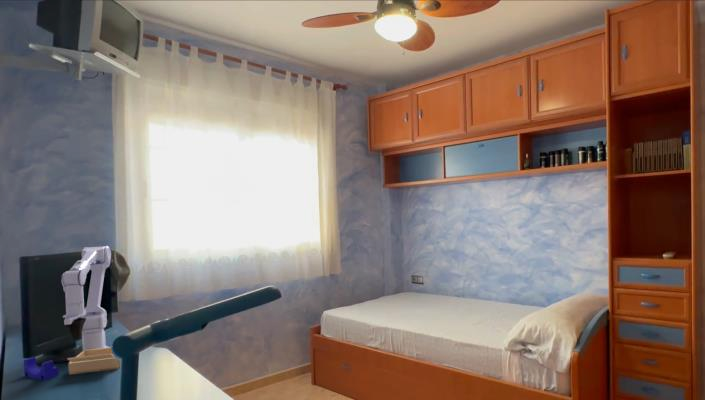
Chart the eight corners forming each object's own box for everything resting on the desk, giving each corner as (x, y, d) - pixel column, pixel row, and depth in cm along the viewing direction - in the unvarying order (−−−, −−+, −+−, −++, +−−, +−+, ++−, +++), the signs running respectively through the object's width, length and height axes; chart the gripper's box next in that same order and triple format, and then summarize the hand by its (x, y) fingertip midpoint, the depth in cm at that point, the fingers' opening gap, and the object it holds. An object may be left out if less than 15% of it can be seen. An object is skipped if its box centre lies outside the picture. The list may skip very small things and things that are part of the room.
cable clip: (58, 375, 153) (57, 359, 153) (45, 381, 149) (44, 363, 149) (38, 371, 158) (37, 355, 158) (24, 376, 154) (23, 360, 154)
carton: (84, 360, 167) (83, 350, 167) (130, 354, 171) (130, 344, 171) (68, 374, 153) (67, 363, 153) (119, 368, 157) (119, 357, 157)
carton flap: (67, 358, 150) (67, 359, 150) (110, 352, 153) (110, 354, 153) (72, 360, 154) (72, 362, 153) (114, 355, 157) (114, 357, 156)
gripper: (71, 299, 167) (73, 334, 167) (53, 308, 153) (55, 346, 153) (91, 297, 168) (93, 332, 168) (75, 306, 154) (77, 343, 154)
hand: (76, 338), depth 161 cm, fingers closed
